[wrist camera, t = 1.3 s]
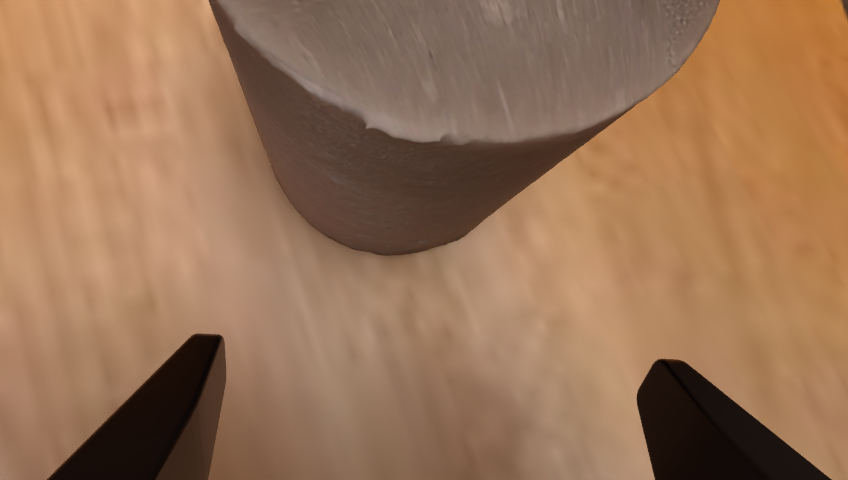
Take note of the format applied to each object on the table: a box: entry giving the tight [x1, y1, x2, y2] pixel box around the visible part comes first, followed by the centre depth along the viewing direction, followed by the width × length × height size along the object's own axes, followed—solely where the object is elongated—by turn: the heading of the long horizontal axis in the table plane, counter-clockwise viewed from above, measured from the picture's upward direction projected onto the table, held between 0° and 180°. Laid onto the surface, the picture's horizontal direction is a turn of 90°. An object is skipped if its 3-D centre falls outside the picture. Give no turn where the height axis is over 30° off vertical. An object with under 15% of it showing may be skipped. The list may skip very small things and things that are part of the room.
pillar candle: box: [209, 0, 720, 255], centre depth 15 cm, size 10×10×15 cm
